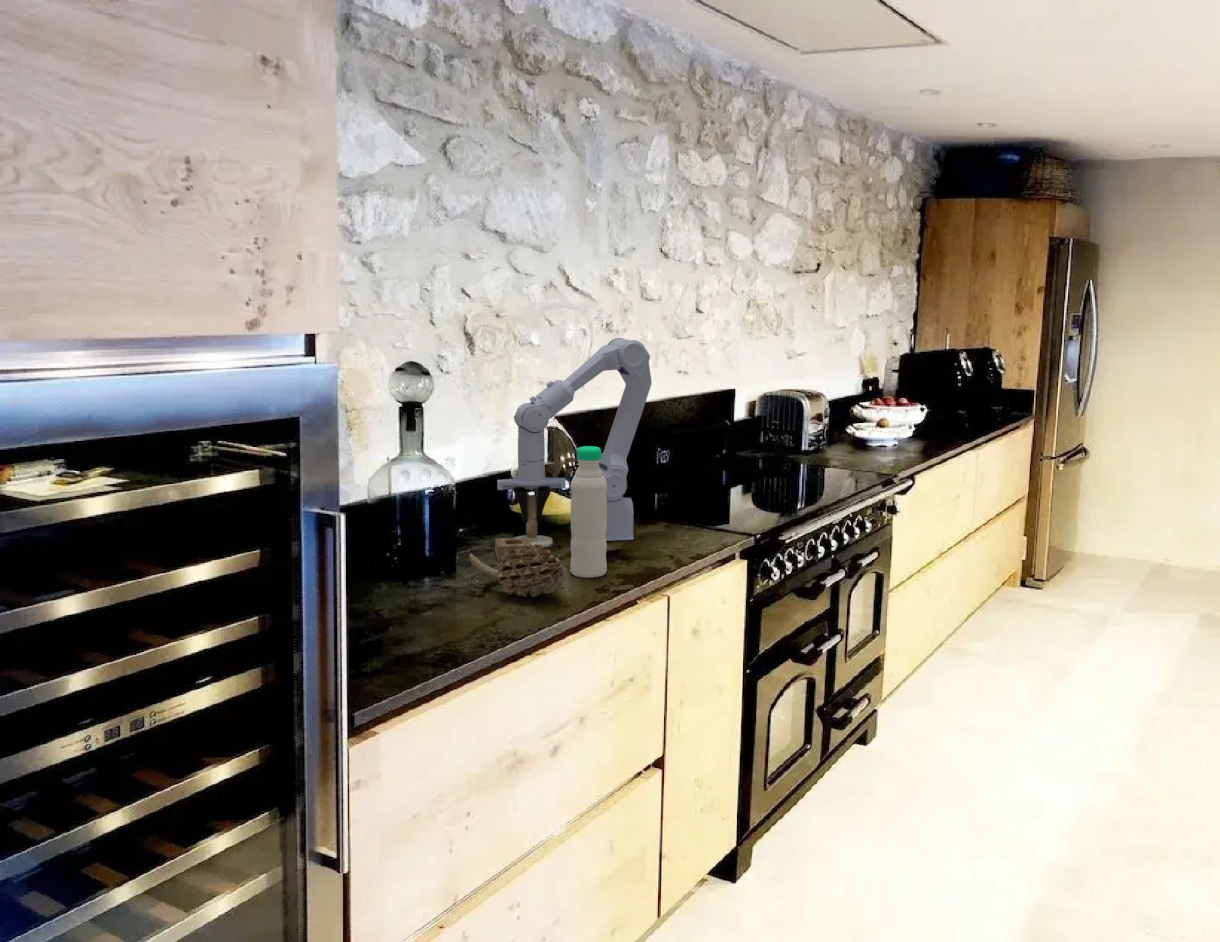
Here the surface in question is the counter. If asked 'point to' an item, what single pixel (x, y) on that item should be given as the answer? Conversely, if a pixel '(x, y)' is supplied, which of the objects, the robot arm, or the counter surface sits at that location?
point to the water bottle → (588, 515)
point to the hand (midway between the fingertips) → (531, 521)
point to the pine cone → (526, 570)
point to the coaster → (540, 540)
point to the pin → (531, 516)
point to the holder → (509, 545)
